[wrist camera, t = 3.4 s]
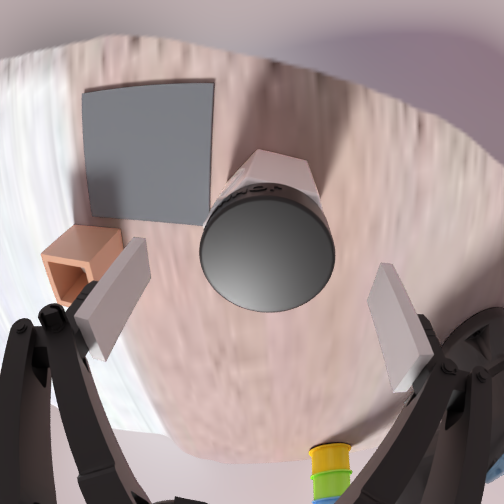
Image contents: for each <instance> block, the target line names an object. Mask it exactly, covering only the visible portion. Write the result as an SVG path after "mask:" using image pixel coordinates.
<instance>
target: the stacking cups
mask: <svg viewBox="0 0 504 504" xmlns="http://www.w3.org/2000/svg"><path fill="white" fill-rule="evenodd" d="M350 450H351V446H350V445H348V444H344V443H333V444H326V445H321V446H318V447H315V448H313V449H311V450H310V451H309V455H310V456H311V457H312V475H311V477H310V479H312V480H313V489H314V501H312V503H313V504H334V503H335V502H336V501H337V500H338V499H339V497H340V496H341V495H342V494H343V493H344V492H345V490H346V489H347V488H348V487H349V486H350V474H352V470H350V466H349V451H350Z"/></svg>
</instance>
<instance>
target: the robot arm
mask: <svg viewBox="0 0 504 504" xmlns="http://www.w3.org/2000/svg"><path fill="white" fill-rule="evenodd" d="M150 279H151V273H150V267H149V260H148V252H147V244H146V238H139V237H133V239H132V240H131V241H130V242H129V243H128V245H127V246H126V247H125V248H124V250H123V251H122V252H121V253H120V255H119V256H118V257H117V258H116V260H115V261H114V262H113V263H112V265H111V266H110V267H109V268H108V270H107V271H106V272H105V274H104V275H103V276H102V278H101V279H100V280H99V281H94V280H93V281H91V282H90V283H88V284H87V285H86V286H85V287H84V288H83V289H82V291H81V292H80V294H79V295H78V296H77V297H76V299H75V300H74V301H73V303H72V304H71V305H70V307H69V308H68V309H67V311H66V312H65V311H64V308H63V306H62V305H60V304H57V303H53V304H49V305H47V306H45V307H44V308H42V309H41V311H40V312H39V315H38V319H39V321H40V323H41V325H42V326H33V324H32V322H31V320H29V319H28V318H23V319H19V320H18V321H16V322H15V323H14V324H13V325H12V327H11V329H10V333H9V337H8V341H7V345H6V349H5V354H4V358H3V363H2V368H1V374H0V504H57V501H56V491H55V484H54V476H53V466H52V455H51V433H50V399H51V378H52V381H53V386H54V390H55V395H56V399H57V403H58V408H59V411H60V415H61V419H62V423H63V426H64V429H65V433H66V436H67V439H68V442H69V446H70V449H71V451H72V454H73V457H74V460H75V463H76V465H77V468H78V471H79V476H78V477H77V479H78V484H79V487H80V489H81V492H82V494H83V496H84V499H85V501H86V503H87V504H152V503H151V501H150V500H149V498H148V496H147V495H146V493H145V492H144V491H143V489H142V488H141V486H140V485H139V484H138V482H137V480H136V479H135V477H134V475H133V473H132V471H131V469H130V467H129V465H128V463H127V461H126V459H125V457H124V455H123V453H122V451H121V448H120V446H119V444H118V442H117V440H116V437H115V436H114V433H113V431H112V428H111V426H110V423H109V421H108V418H107V416H106V413H105V411H104V408H103V406H102V403H101V400H100V398H99V395H98V392H97V389H96V386H95V383H94V380H93V377H92V374H91V371H90V368H89V364H88V361H87V359H86V357H85V356H86V354H87V352H88V351H89V352H90V354H91V356H92V358H94V359H97V360H100V361H104V362H106V361H107V359H108V357H109V355H110V353H111V351H112V349H113V347H114V345H115V343H116V341H117V339H118V337H119V335H120V333H121V331H122V330H123V328H124V326H125V324H126V322H127V320H128V318H129V316H130V315H131V313H132V311H133V309H134V307H135V306H136V304H137V302H138V300H139V298H140V297H141V295H142V293H143V291H144V289H145V288H146V286H147V284H148V283H149V281H150ZM367 302H368V306H369V309H370V312H371V315H372V318H373V322H374V325H375V328H376V332H377V335H378V339H379V342H380V346H381V349H382V353H383V356H384V360H385V364H386V368H387V372H388V376H389V380H390V384H391V388H392V392H393V393H396V392H407V390H408V389H409V388H410V387H411V385H413V389H414V392H413V393H412V394H411V395H410V397H409V398H408V399H407V400H406V401H405V402H404V404H406V405H405V406H404V408H403V410H402V411H401V413H400V415H399V416H398V418H397V420H396V421H395V423H394V425H393V426H392V428H391V429H390V431H389V432H388V434H387V435H386V437H385V438H384V440H383V441H382V443H381V444H380V446H379V447H378V449H377V450H376V452H375V453H374V454H373V456H372V457H371V459H370V460H369V461H368V463H367V464H366V465H365V467H364V468H363V469H362V471H361V472H360V473H359V475H358V476H357V477H356V478H355V480H354V481H353V482H352V483H351V484H350V486H349V487H348V488H347V489H346V490H345V492H344V493H343V494H342V495H341V496H340V497H339V499H338V500H337V501H336V502H335V503H334V504H481V501H482V496H483V491H484V486H485V483H490V482H492V481H494V480H495V479H497V478H499V477H500V476H502V475H504V308H499V307H497V308H491V309H487V310H485V311H482V312H480V313H478V314H476V315H475V316H473V317H471V318H470V319H468V320H467V321H466V322H464V323H463V324H462V325H461V326H459V327H458V328H457V329H456V330H455V331H454V332H453V333H452V334H451V335H450V337H449V338H448V339H447V340H446V342H445V343H444V345H443V346H442V348H441V346H440V343H439V341H438V339H437V337H436V334H435V332H434V331H433V328H432V326H431V323H430V321H429V320H428V319H427V318H426V317H425V316H424V315H423V314H417V313H416V311H415V309H414V307H413V304H412V302H411V300H410V298H409V296H408V294H407V292H406V290H405V288H404V286H403V284H402V282H401V280H400V278H399V276H398V274H397V272H396V270H395V268H394V266H393V264H388V263H380V266H379V269H378V272H377V275H376V277H375V280H374V283H373V286H372V288H371V291H370V294H369V296H368V299H367ZM441 419H442V420H441ZM440 421H441V422H440ZM153 504H207V503H205V502H200V501H195V500H190V499H184V498H180V497H176V496H175V499H174V500H166V501H160V502H156V503H153Z"/></svg>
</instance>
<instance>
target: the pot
mask: <svg viewBox="0 0 504 504" xmlns="http://www.w3.org/2000/svg"><path fill="white" fill-rule="evenodd" d="M123 250H124V248H123V242H122V236H121V229H117V228H106V227H96V226H85V225H73V226H72V227H71V228H69V229H68V230H67V231H66V232H65V233H63V234H62V235H61V236H60V237H59V238H58V239H57V240H55V241H54V242H53V243H52V244H51V245H50V246H49V247H48V248H46V249H45V250H44V251H43V252H42V253H41V257H42V260H43V263H44V266H45V269H46V272H47V275H48V278H49V281H50V284H51V287H52V290H53V292H54V295H55V298H56V300H57V303H58V304H60V305H63V306H66V307H70V305H71V304H72V303H73V301H74V300H75V299H76V297H77V296H78V295H79V294H80V292H81V291H82V289H83V288H84V287H85V286H86V285H87V284H88V283H90V282H91V281H93V280H94V281H99V280H100V279H101V278H102V276H103V275H104V274H105V272H106V271H107V270H108V268H109V267H110V266H111V265H112V263H113V262H114V261H115V260H116V258H117V257H118V256H119V255H120V253H121V252H122V251H123ZM81 267H82V268H85V271H86V273H85V272H84V271H83V270H82V269H81Z"/></svg>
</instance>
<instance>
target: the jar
mask: <svg viewBox="0 0 504 504" xmlns="http://www.w3.org/2000/svg"><path fill="white" fill-rule="evenodd" d="M203 228H204V232H203V234H202V237H201V241H200V248H199V256H200V263H201V267H202V270H203V272H204V275H205V277H206V278H207V280H208V282H209V283H210V284H211V286H212V287H213V288H214V289H215V290H216V291H217V292H218V293H219V294H220V295H221V296H222V297H224V298H225V299H226V300H228V301H229V302H231V303H233V304H235V305H237V306H239V307H242V308H245V309H248V310H252V311H257V312H281V311H287V310H290V309H294V308H296V307H299V306H301V305H303V304H305V303H307V302H308V301H310V300H311V299H313V298H314V297H315V296H316V295H318V294H319V293H320V292H321V290H322V289H323V288H324V287H325V285H326V284H327V283H328V281H329V279H330V277H331V275H332V272H333V269H334V264H335V246H334V242H333V238H332V235H331V232H330V228H329V225H328V222H327V219H326V217H325V215H324V212H323V208H322V204H321V200H320V196H319V193H318V190H317V187H316V184H315V181H314V179H313V176H312V173H311V170H310V167H309V164H308V162H307V161H306V160H303V159H299V158H295V157H291V156H287V155H282V154H278V153H274V152H270V151H265V150H261V149H258V150H256V151H255V152H254V153H253V154H252V155H251V157H250V158H249V159H248V160H247V161H246V162H245V163H244V164H243V165H242V166H241V167H240V168H239V169H238V170H237V172H236V173H235V174H234V175H233V176H232V177H231V178H230V179H229V180H228V181H227V183H226V184H225V186H224V188H223V189H222V191H221V193H220V195H219V196H218V198H217V200H216V202H215V203H214V205H213V207H212V209H211V210H210V212H209V214H208V216H207V218H206V219H205V221H204V223H203Z"/></svg>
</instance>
